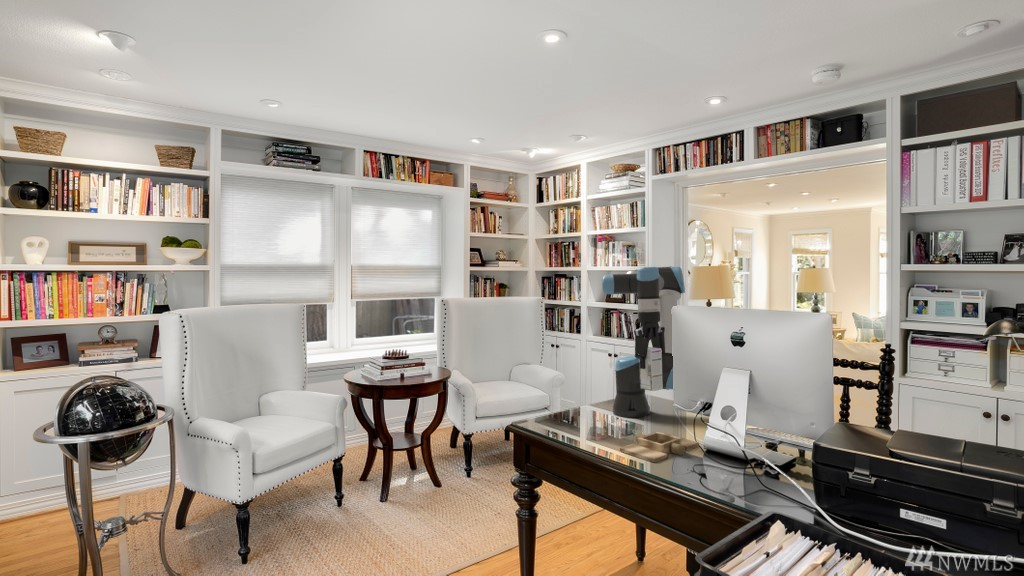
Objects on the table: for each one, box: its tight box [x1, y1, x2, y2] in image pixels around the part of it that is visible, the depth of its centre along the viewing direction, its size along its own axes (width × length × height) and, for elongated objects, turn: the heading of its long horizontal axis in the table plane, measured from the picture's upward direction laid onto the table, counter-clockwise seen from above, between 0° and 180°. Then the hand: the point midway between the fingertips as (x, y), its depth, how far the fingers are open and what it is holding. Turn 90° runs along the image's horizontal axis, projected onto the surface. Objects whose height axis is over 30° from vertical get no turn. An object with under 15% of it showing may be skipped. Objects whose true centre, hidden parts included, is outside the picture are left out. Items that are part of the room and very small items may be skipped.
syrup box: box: [639, 346, 664, 392], centre depth 188 cm, size 6×6×14 cm
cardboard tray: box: [619, 431, 700, 463], centre depth 176 cm, size 18×23×4 cm
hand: (651, 376), depth 188 cm, fingers closed on syrup box, 6 cm apart
